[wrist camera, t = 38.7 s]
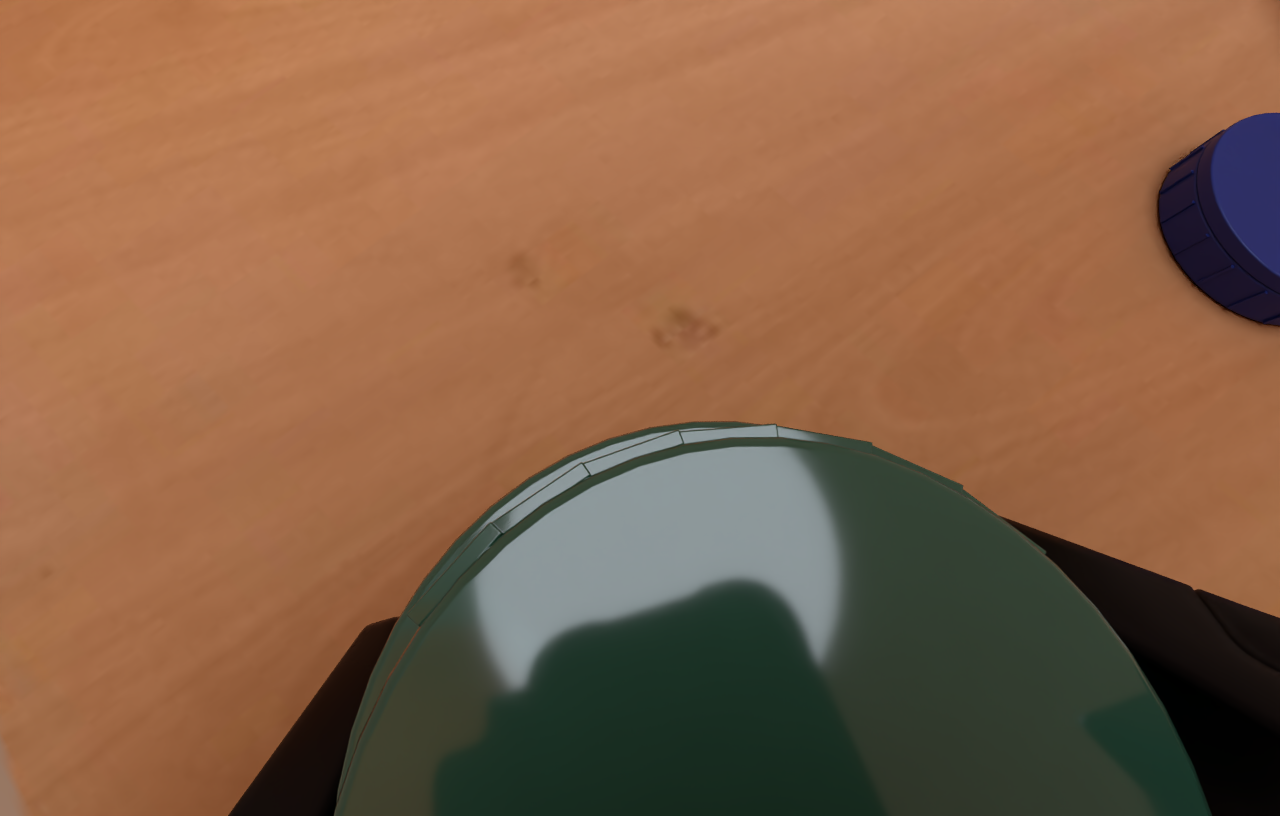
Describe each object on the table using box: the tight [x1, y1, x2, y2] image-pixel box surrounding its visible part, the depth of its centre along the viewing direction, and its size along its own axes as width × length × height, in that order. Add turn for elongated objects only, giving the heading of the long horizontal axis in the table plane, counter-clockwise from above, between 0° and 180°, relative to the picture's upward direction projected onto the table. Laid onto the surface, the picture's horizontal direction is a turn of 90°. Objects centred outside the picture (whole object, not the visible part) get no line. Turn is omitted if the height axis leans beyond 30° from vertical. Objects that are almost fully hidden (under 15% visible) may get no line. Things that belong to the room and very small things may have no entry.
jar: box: [333, 421, 1212, 816], centre depth 8 cm, size 6×6×11 cm
